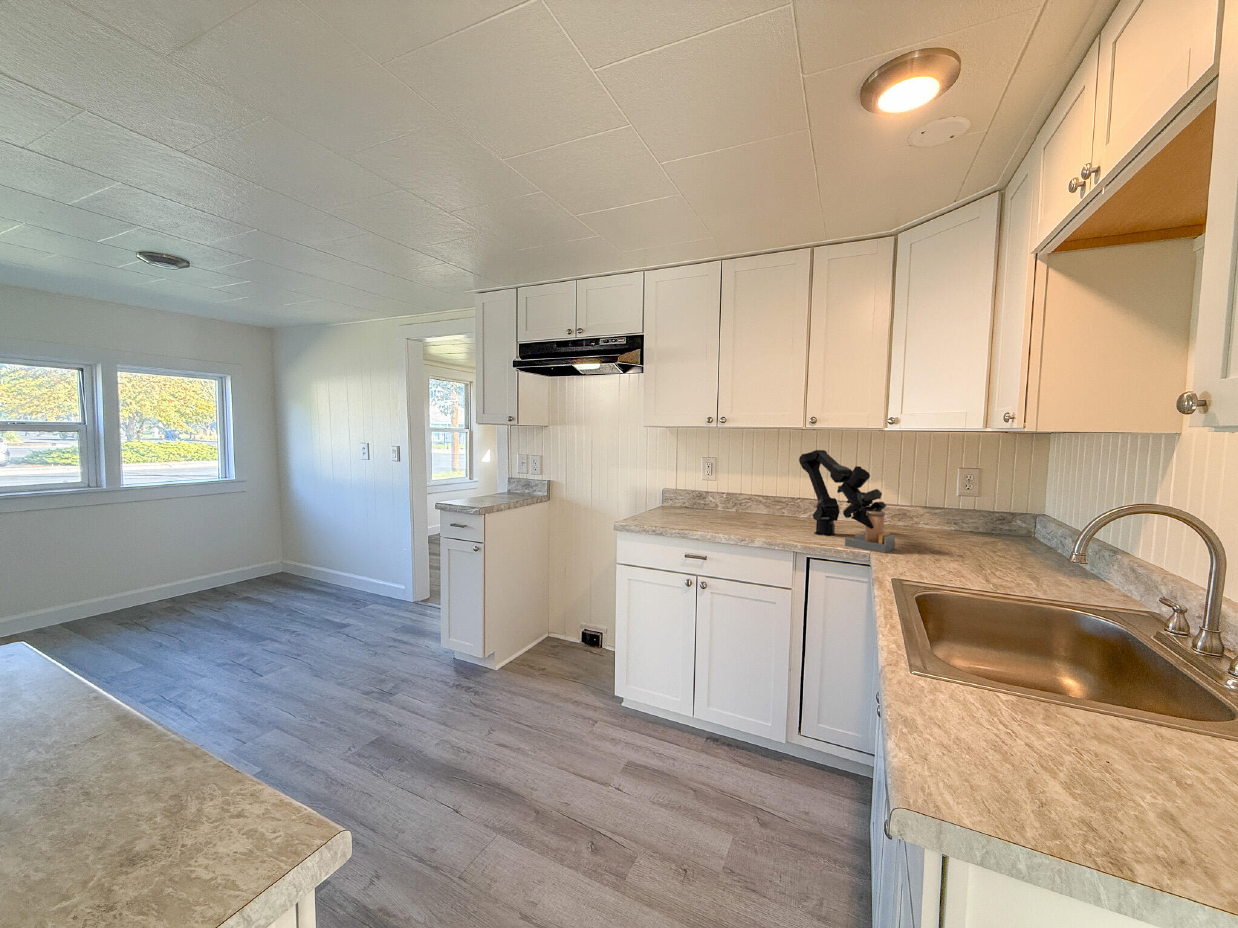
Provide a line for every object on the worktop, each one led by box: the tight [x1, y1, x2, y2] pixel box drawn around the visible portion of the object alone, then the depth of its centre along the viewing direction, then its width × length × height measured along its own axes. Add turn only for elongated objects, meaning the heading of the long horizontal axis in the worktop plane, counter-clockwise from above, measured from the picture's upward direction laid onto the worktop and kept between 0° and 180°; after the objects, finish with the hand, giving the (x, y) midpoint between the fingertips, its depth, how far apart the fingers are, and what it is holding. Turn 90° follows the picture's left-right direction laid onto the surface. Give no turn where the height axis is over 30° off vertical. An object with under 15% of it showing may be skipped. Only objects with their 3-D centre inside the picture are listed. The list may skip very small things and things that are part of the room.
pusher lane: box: [844, 534, 896, 554], centre depth 188 cm, size 15×10×6 cm
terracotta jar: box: [864, 510, 886, 543], centre depth 186 cm, size 6×6×13 cm
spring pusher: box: [878, 531, 891, 544], centre depth 184 cm, size 1×8×6 cm, turn 133°
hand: (877, 527), depth 185 cm, fingers closed on terracotta jar, 6 cm apart
